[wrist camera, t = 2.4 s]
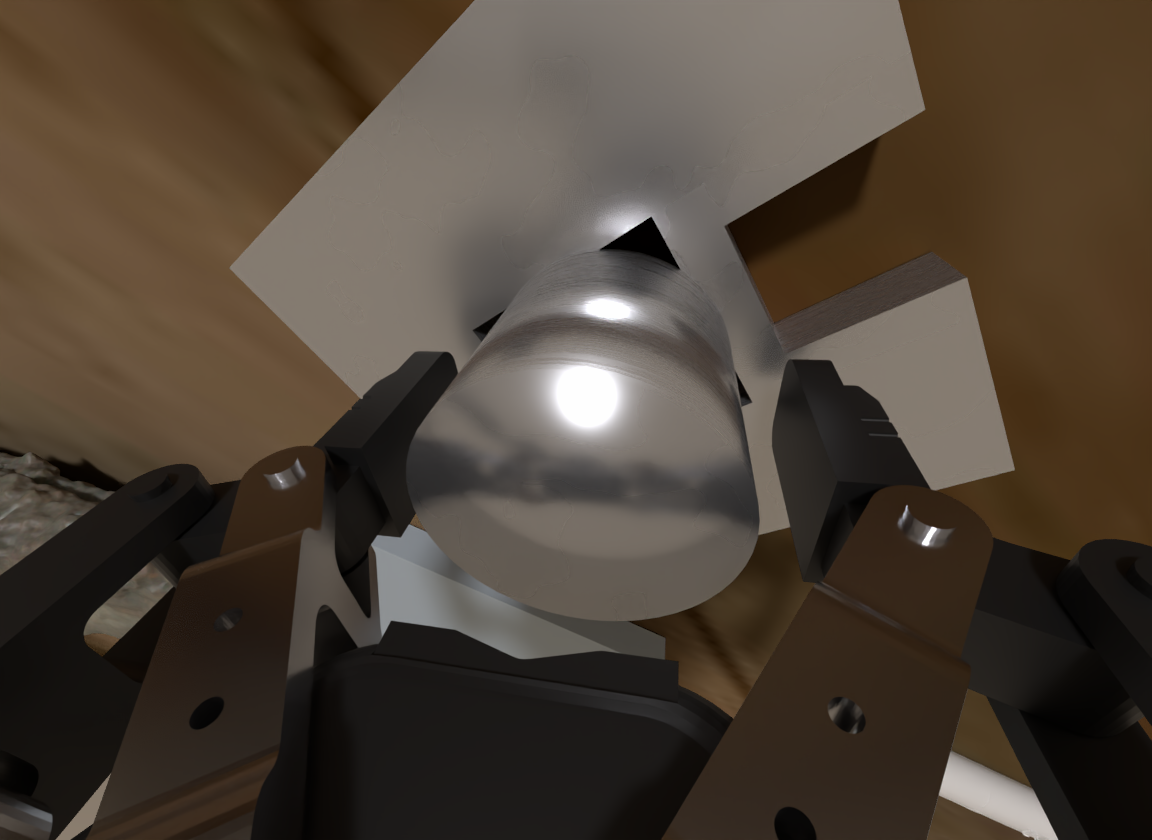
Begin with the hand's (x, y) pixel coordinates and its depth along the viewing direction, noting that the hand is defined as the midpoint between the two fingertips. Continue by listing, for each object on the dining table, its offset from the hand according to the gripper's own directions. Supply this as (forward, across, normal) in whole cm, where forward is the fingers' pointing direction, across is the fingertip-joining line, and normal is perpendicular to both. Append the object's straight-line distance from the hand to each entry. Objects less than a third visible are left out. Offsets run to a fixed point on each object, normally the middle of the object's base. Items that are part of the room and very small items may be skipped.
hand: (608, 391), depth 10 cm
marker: (+3, -21, +26) cm, 33 cm away
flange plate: (+3, 0, 0) cm, 3 cm away
